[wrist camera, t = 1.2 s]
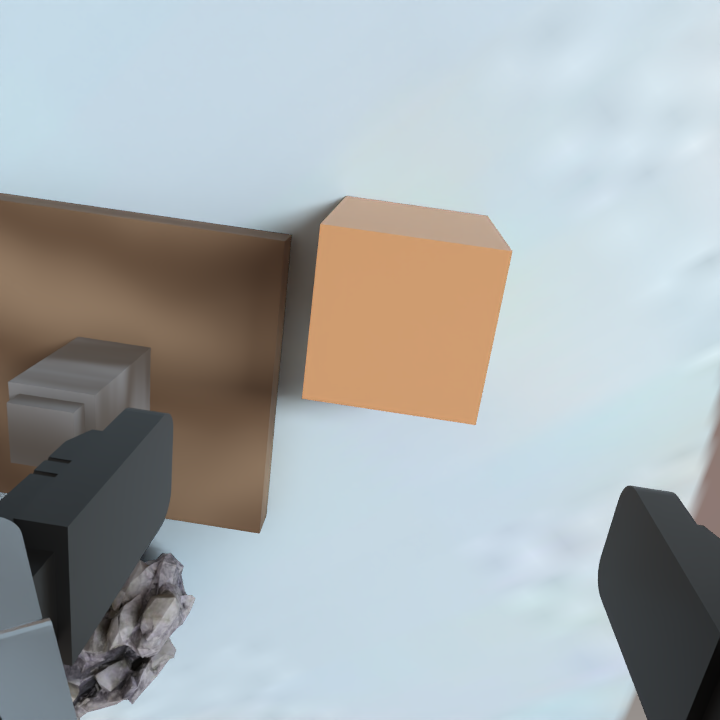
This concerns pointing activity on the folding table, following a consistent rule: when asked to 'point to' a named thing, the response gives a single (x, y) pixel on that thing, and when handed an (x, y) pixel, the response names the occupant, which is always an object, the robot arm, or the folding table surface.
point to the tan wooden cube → (404, 309)
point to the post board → (143, 344)
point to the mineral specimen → (131, 637)
